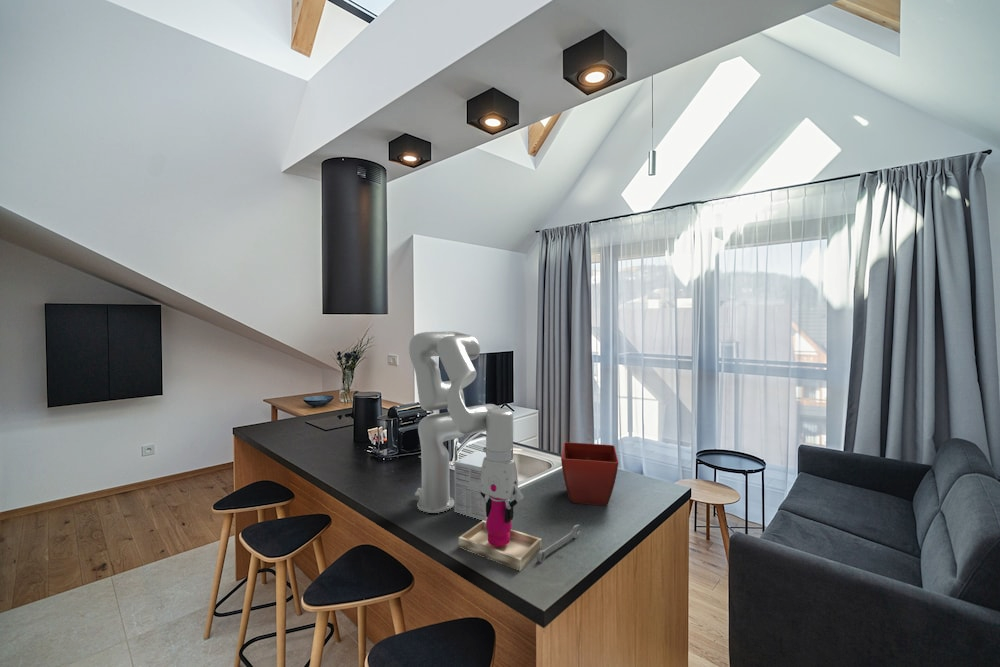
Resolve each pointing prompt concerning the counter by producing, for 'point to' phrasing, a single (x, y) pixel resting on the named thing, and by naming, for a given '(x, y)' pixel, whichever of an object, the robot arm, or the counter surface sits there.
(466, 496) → the supplement box
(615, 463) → the plant pot
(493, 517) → the pepper mill
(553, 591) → the counter surface
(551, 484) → the counter surface
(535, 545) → the wooden tray
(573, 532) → the combination wrench
